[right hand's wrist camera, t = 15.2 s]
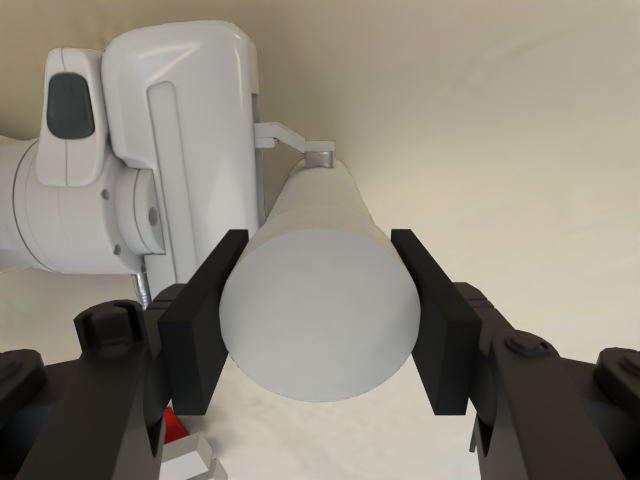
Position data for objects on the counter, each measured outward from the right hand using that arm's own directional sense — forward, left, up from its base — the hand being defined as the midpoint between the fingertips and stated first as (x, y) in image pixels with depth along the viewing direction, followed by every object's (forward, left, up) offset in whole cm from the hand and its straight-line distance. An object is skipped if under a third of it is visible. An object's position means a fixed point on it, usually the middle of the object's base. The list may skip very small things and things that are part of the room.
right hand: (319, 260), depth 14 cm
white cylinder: (0, 0, +4) cm, 4 cm away
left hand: (-1, +1, -9) cm, 9 cm away
